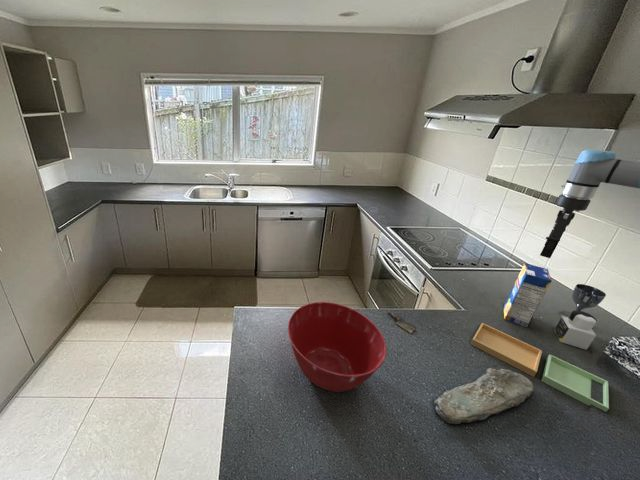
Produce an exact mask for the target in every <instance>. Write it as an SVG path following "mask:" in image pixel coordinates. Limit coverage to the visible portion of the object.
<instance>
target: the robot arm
mask: <svg viewBox="0 0 640 480" xmlns="http://www.w3.org/2000/svg"><path fill="white" fill-rule="evenodd" d="M616 156H617V153H616V151H615V152H614V151H610V150H601V149H585V150H582V151H581V152H580V154H579V156H578V158H576V161H575V162H574V163H573V164H574V165H573V166H572V169H571V171H570V173H569V175H568V177H567V179H566V182H565V184H561V189H562V190H561V194H559V196H558V197H557V199H556V201H555V205H556V206H557V207H558V208H559V207H560V208H563V209H559V211H558V213H557V215H556V219H555V221H554V226H553V228H552V229H551V231H550V233H549V234H548V236H546V237H545V240H546V241H545V243H544V246H543V248H542V250H541V252H540V254H539V257H543V258H547V259H551V257H552V255H554V252H555V250H556V248H557V246H558V245H559V242H561V238H562V236H563V235H564V233H565V232H566V230H567V227H568V226H570V224H571V222H572V220H573V219H574V218H575V217H576V213H575V212H574V211H578V212H579V211H580V212H581V211H582V212H583V211H586V210H587V209H588V206H590V203H591V199H593V198H594V197H595V194H596V193H597V191H598V189H599V187H600V185H601V183H604V184H611V185H616V186H623V187H628V188H634V189H640V158H639V159H636V160H625V159H619V158H616Z"/></svg>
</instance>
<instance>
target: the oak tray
mask: <svg viewBox="0 0 640 480" xmlns="http://www.w3.org/2000/svg"><path fill="white" fill-rule="evenodd" d="M470 345H472V346H473V347H475V348H477V349H479V350H481V351H482V352H485V353H486V354H489V355H491V356H492V357H494V358H496V359H498V360H499V361H502V362H503V363H506V364H508V365H510V366H512V367H514V368H515V369H517V370H519V371H521V372H523V373H525V374H526V375H528V376H531V377H532V378H535V376H536V375H537V372H538V370H539V365H540V362H541V357H542V354H543V350H542V349H540V348H538V347H535V346H534V345H531V344H529V343H527V342H525V341H522V340H521V339H518V338H516V337H514V336H512V335H510V334H507V333H505V332H503V331H501V330H499V329H497V328H494V327H492V326H490V325H488V324H486V323H483V322H482V323H481V324H480V326H479V328H478V329H477V330H476V332H475V334H474V335H473V338H472V340H471V342H470Z"/></svg>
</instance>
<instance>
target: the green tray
mask: <svg viewBox="0 0 640 480" xmlns="http://www.w3.org/2000/svg"><path fill="white" fill-rule="evenodd" d="M546 357H547V358H546V360H545V362H544V363H545V364H544V368H543V373H542V377H541V383H544V384H546V385H547V386H550V387H551V388H554V389H555V390H557V391H559V392H562V393H563V394H565V395H567V396H569V397H570V398H572V399H575V400H576V401H578V402H579V403H582V404H584V405H586V406H588V407H591V406H594V407H595V408H598V409H600V410H601V411H603V412H605V413H607V412H608V410H609V409H610V394H609V393H610V392H609V381H608V380H605V379H604V378H602V377H600V376H597V375H595V374H593V373H591V372H589V371H587V370H584V369H583V368H580V367H578V366H576V365H573V364H572V363H569V362H568V361H565V360H563V359H561V358H559V357H557V356H554V355H552V354H550V353H549V355H548V356H546ZM592 381H594V382H597V383H599V384H601V385H602V403H601V402H599V401H598V400H595V399H593V398H592Z"/></svg>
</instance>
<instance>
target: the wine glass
mask: <svg viewBox="0 0 640 480" xmlns="http://www.w3.org/2000/svg"><path fill="white" fill-rule="evenodd" d="M606 297H607V294H606V293H605V292H604V291H603V290H601V289H599V288H597V287H594V286H591V285H588V284H582V283H577V284H576V285H575V286H574V289H573V290H572V294H571V299H572V301H573V303H574V304H575V307H576V308H575V311H576V310H577V311H583V310H586V309H591V308H596V307H597V306H599V305H600V304H601V303H602V302H603V301H604V299H606ZM570 315H571V314H567V313H560V314H559V316H560V318H561V317H567V318H569V316H570Z"/></svg>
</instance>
